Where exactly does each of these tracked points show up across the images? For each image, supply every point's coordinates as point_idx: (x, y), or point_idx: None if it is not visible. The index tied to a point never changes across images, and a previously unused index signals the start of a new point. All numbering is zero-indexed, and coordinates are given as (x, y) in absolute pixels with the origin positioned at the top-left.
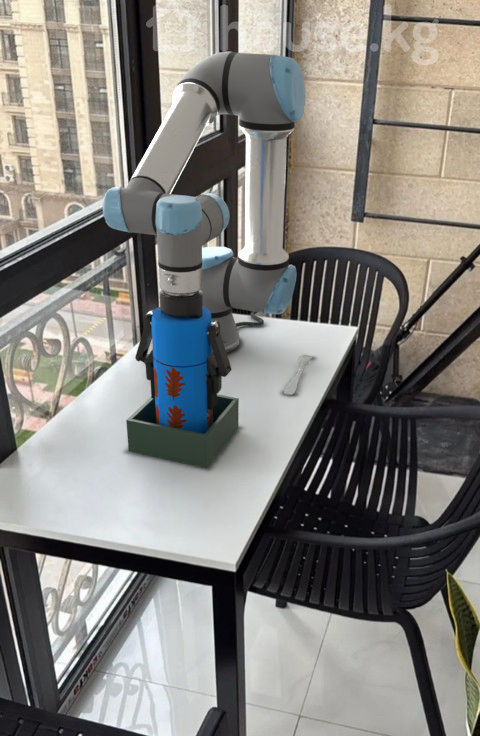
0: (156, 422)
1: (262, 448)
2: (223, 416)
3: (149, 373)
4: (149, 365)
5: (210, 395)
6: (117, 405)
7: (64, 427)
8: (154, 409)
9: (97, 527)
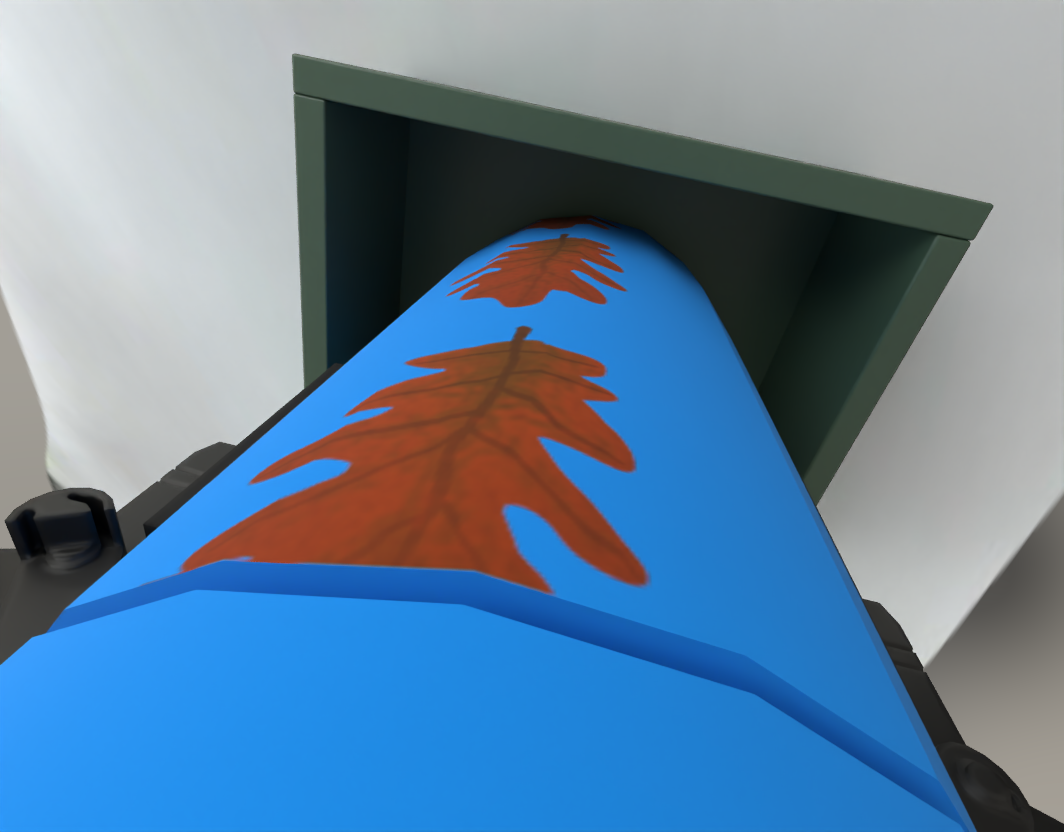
0: (400, 255)
1: (984, 374)
2: (825, 488)
3: None
4: None
5: None
6: (106, 32)
7: (60, 319)
8: (363, 292)
9: None
